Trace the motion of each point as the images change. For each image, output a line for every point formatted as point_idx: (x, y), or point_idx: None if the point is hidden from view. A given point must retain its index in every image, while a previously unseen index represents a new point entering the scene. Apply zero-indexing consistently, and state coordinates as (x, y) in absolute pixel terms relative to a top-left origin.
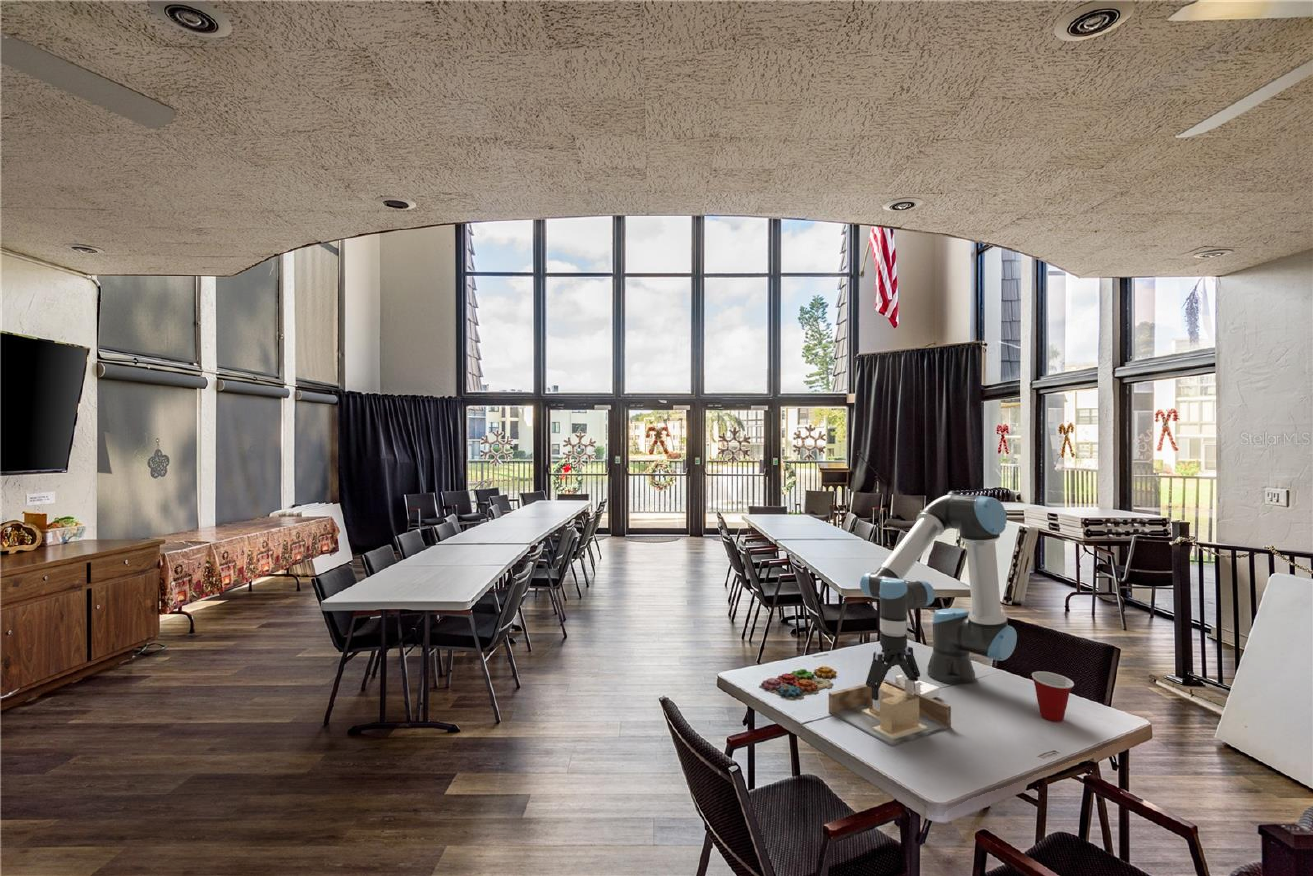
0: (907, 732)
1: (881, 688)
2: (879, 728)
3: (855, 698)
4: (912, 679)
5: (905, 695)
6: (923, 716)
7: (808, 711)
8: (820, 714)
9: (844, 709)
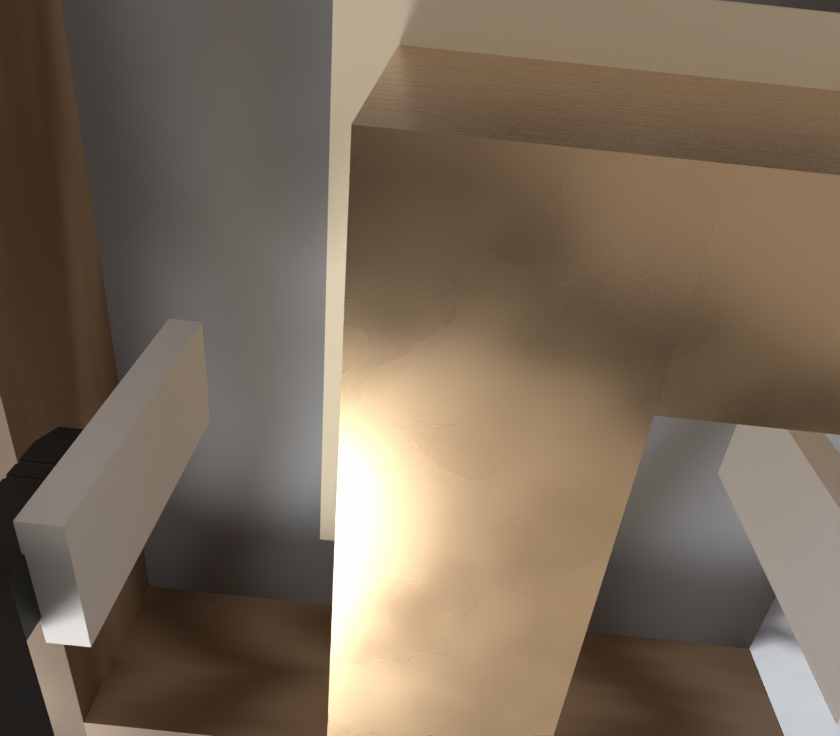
0: (695, 6)
1: (535, 654)
2: None
3: None
4: (2, 565)
5: (484, 340)
6: (108, 205)
7: (814, 729)
8: (801, 674)
9: (620, 636)
